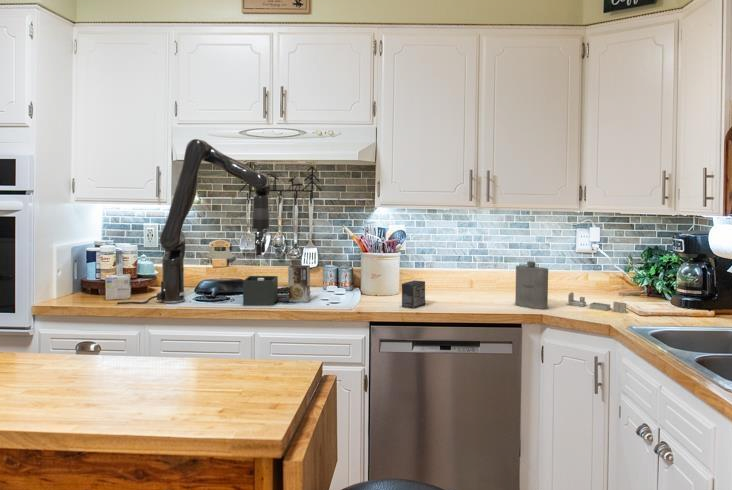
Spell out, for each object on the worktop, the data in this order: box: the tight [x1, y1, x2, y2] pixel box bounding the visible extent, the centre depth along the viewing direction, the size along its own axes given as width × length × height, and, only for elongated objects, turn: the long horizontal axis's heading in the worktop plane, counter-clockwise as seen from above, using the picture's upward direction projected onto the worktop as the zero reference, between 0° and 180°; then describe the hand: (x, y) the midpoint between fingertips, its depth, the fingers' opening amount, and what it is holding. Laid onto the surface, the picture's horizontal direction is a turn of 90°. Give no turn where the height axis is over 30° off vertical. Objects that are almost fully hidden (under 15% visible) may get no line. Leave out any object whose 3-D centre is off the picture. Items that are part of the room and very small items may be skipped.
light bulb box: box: [104, 273, 132, 301], centre depth 286 cm, size 11×7×11 cm, turn 108°
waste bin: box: [242, 275, 279, 307], centre depth 278 cm, size 13×13×11 cm
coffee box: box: [287, 264, 311, 303], centre depth 282 cm, size 9×6×16 cm
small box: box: [401, 280, 426, 309], centre depth 273 cm, size 11×6×10 cm, turn 145°
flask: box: [514, 260, 549, 310], centre depth 272 cm, size 15×6×20 cm, turn 48°
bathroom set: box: [567, 291, 627, 314], centre depth 270 cm, size 25×5×5 cm, turn 50°
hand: (260, 253), depth 277 cm, fingers open, 8 cm apart
